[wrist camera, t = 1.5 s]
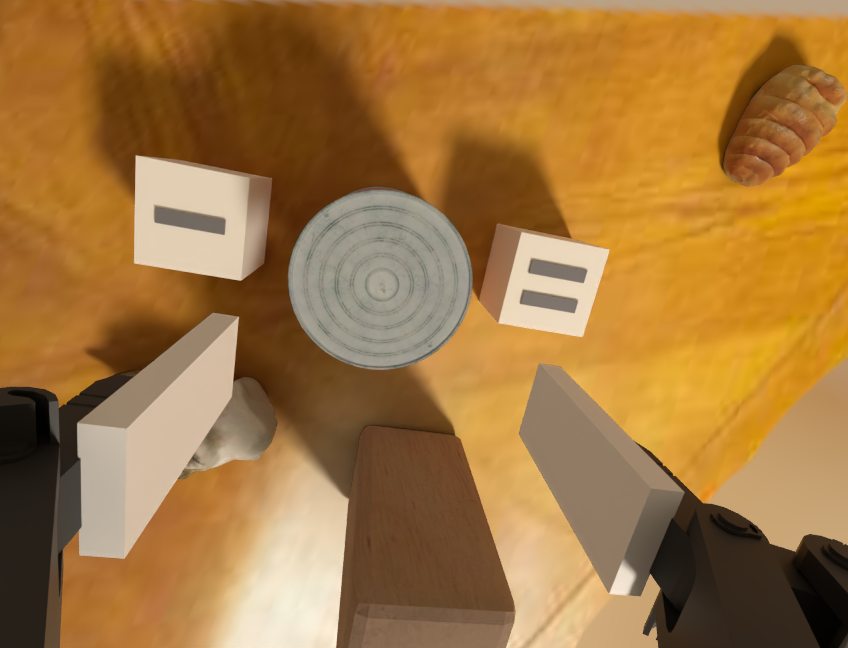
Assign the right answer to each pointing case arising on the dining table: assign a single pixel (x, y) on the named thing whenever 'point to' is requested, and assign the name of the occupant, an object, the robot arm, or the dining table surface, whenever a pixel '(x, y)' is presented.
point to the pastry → (783, 124)
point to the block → (419, 549)
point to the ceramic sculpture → (235, 428)
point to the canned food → (380, 279)
